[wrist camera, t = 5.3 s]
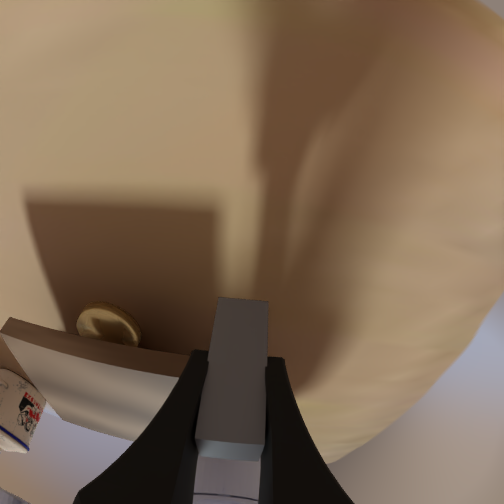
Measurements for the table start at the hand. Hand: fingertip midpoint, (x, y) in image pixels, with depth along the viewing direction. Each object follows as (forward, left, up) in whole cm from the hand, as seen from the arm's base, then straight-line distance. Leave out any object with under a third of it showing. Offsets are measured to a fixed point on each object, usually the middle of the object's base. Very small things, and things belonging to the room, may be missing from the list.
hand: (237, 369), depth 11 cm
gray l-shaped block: (-5, 0, -3) cm, 5 cm away
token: (-8, +10, -8) cm, 15 cm away
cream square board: (-10, +9, -8) cm, 15 cm away
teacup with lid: (-25, +31, -8) cm, 40 cm away
